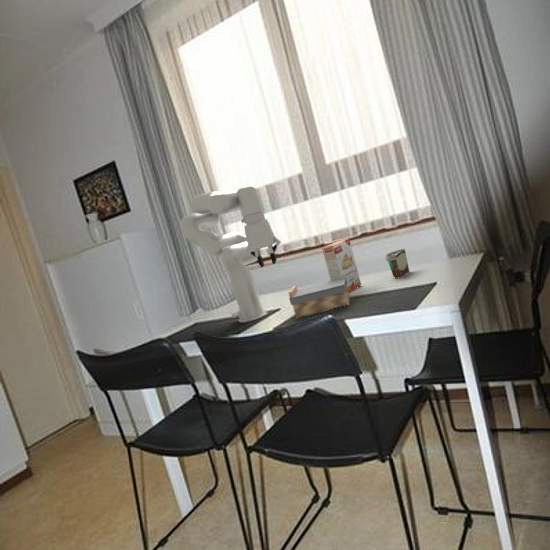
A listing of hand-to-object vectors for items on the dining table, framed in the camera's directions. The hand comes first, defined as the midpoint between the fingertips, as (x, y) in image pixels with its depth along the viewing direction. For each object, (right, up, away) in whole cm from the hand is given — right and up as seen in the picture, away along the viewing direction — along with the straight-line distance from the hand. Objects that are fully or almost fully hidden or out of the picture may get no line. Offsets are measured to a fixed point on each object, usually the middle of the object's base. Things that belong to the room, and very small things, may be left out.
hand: (268, 264), depth 178 cm
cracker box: (+33, -11, +15) cm, 38 cm away
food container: (+54, -5, +16) cm, 57 cm away
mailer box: (+21, -16, -1) cm, 27 cm away
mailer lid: (+20, -11, -2) cm, 23 cm away
